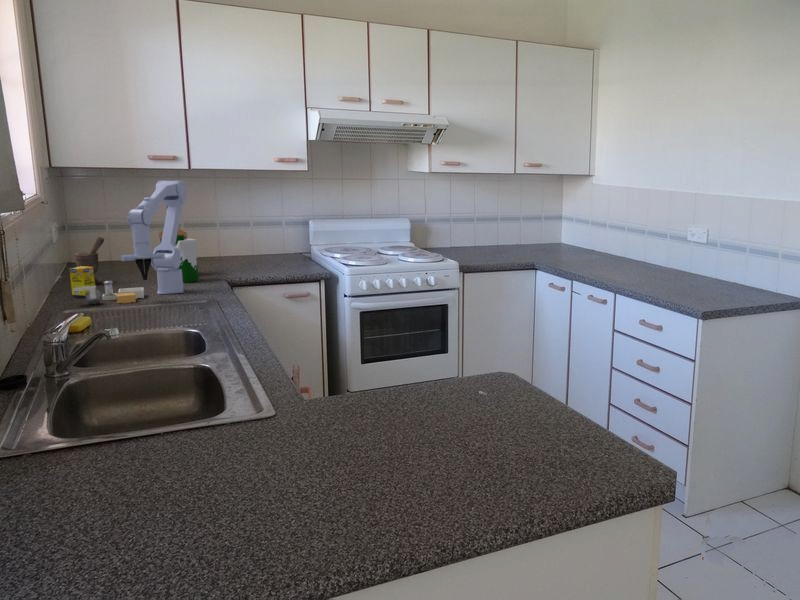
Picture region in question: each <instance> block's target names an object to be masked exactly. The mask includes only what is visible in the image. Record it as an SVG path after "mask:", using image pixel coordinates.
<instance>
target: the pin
mask: <svg viewBox="0 0 800 600" xmlns="http://www.w3.org/2000/svg"><path fill="white" fill-rule="evenodd" d="M102 283H103V285H104V292H105V293H104V294H105V295H106V296H112V295H113V293H114V288H113V283H114V282H113V280H105V281H103V282H102Z"/></svg>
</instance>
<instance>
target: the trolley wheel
mask: <svg viewBox="0 0 800 600" xmlns="http://www.w3.org/2000/svg"><path fill="white" fill-rule="evenodd" d="M83 290H89V292H88V293H87V294H86V297H85V301H86V303H88V304H90V305H92V304H95V305H97V304H99V303H100V302H101V300H102V295H103V294H102V293H101V292H100V291H99V290H97V285H95V286H80V287H75V288H74V291H83Z"/></svg>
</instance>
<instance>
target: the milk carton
mask: <svg viewBox="0 0 800 600" xmlns="http://www.w3.org/2000/svg"><path fill="white" fill-rule="evenodd" d="M197 242H198V240H197V239H194V238H187V239H184V235H177V237H176V243H175V247H176V248H177V249H179V251H180V252H181V254H180V258H181V263H180V266H179V268H178V269H182V280H183V283H184V284H186V283H185V282H189V283H193V282H192V281H196V282H199V281H200V280H199V279H200V278H199V268H198V266H199V265H198V254H197V253H198V252H197V244H198V243H197Z"/></svg>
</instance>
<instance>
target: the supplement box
mask: <svg viewBox="0 0 800 600" xmlns="http://www.w3.org/2000/svg"><path fill="white" fill-rule="evenodd" d="M69 276H70V287H71V294H72V295H71V296H72V297H73V298H86V294H87V293H88V292H89V290H83V291H74V288H75V287H80V286H96V284H95V281H94V277H95V275H94V271H93V267H85V266H80V267H77V266H75V267H71V268H69Z"/></svg>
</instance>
